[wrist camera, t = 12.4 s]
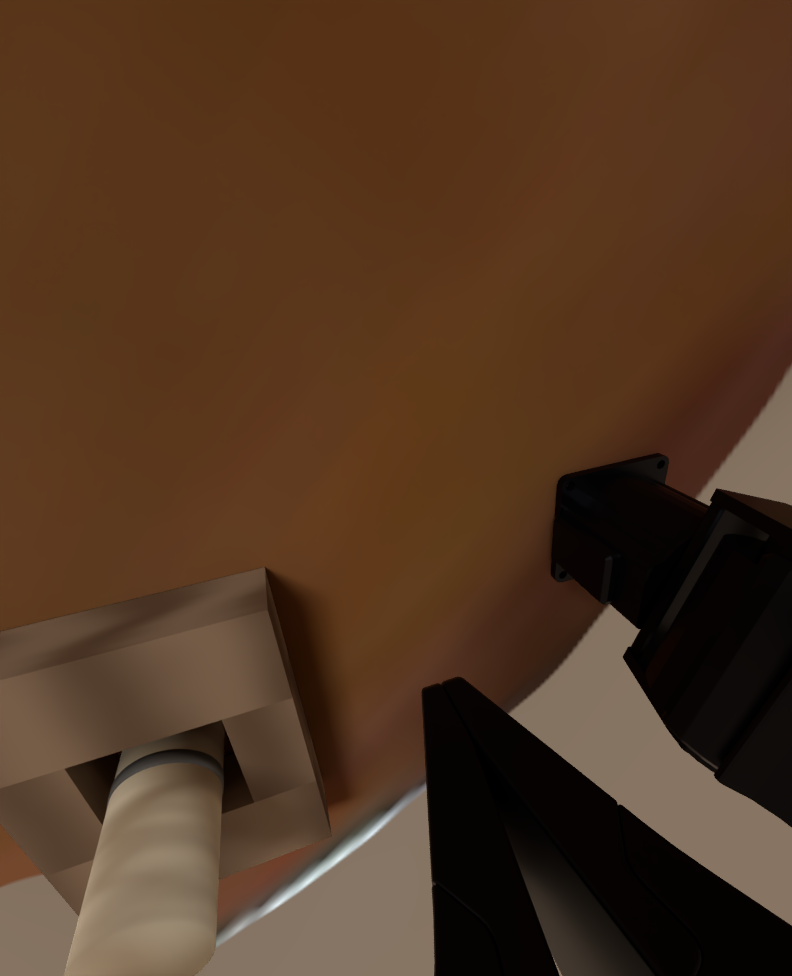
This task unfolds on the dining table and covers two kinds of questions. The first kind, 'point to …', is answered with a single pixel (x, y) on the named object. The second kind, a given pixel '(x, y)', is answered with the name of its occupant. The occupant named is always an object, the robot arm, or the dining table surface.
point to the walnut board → (155, 722)
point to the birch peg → (156, 862)
